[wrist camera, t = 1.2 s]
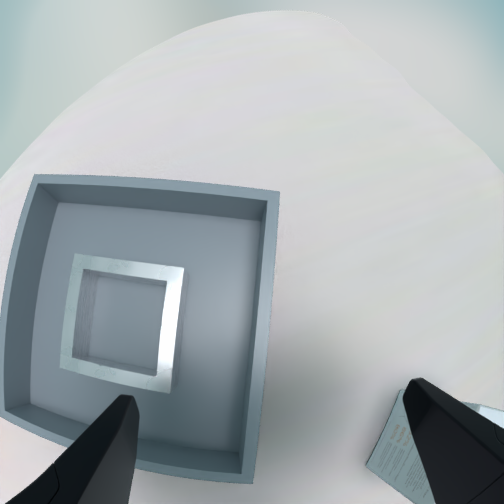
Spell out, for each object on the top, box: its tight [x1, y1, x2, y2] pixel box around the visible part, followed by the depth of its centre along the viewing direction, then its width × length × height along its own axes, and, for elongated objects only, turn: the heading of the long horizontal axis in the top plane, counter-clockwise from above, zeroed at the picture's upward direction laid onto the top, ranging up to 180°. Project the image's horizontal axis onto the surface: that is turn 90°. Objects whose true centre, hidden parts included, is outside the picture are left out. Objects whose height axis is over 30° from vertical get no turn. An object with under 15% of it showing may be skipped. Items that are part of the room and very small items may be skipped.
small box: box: [366, 390, 504, 504], centre depth 16 cm, size 8×6×10 cm
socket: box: [60, 253, 189, 394], centre depth 20 cm, size 8×8×3 cm
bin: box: [0, 174, 280, 484], centre depth 20 cm, size 20×20×5 cm
